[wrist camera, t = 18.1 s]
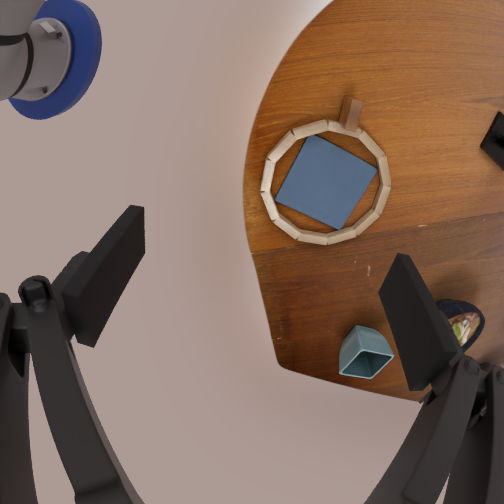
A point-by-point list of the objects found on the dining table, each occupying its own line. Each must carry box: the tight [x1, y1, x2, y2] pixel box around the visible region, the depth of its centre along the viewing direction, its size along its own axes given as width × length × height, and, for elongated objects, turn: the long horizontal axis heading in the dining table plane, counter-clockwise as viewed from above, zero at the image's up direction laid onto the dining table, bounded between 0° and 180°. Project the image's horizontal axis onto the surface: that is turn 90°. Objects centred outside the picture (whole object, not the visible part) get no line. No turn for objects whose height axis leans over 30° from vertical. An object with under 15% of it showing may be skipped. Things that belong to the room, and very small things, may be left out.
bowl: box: [435, 299, 485, 352], centre depth 55 cm, size 17×17×10 cm
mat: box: [274, 134, 378, 230], centre depth 45 cm, size 12×12×1 cm
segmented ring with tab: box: [260, 96, 391, 245], centre depth 42 cm, size 24×20×4 cm
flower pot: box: [339, 325, 394, 379], centre depth 60 cm, size 9×9×9 cm
